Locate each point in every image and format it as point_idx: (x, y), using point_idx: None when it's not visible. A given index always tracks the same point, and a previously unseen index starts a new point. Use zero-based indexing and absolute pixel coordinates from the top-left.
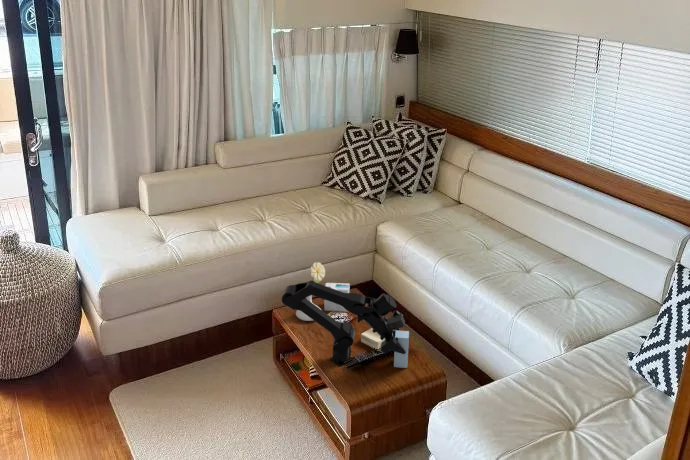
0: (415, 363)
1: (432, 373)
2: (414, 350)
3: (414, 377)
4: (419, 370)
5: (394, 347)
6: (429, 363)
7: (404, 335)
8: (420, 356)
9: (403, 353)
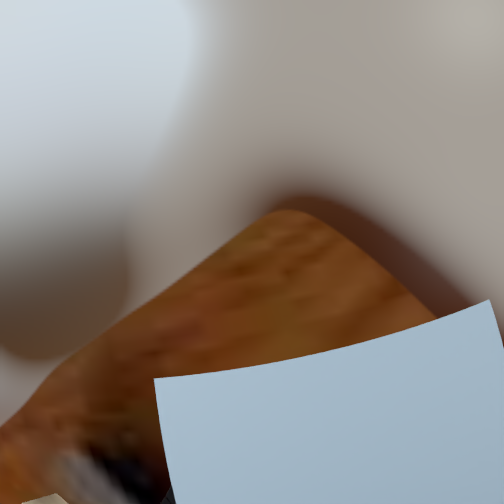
0: (252, 336)
1: (321, 221)
2: (104, 364)
3: (399, 305)
4: (322, 294)
5: None
6: (226, 252)
7: (429, 439)
8: (161, 318)
9: None
